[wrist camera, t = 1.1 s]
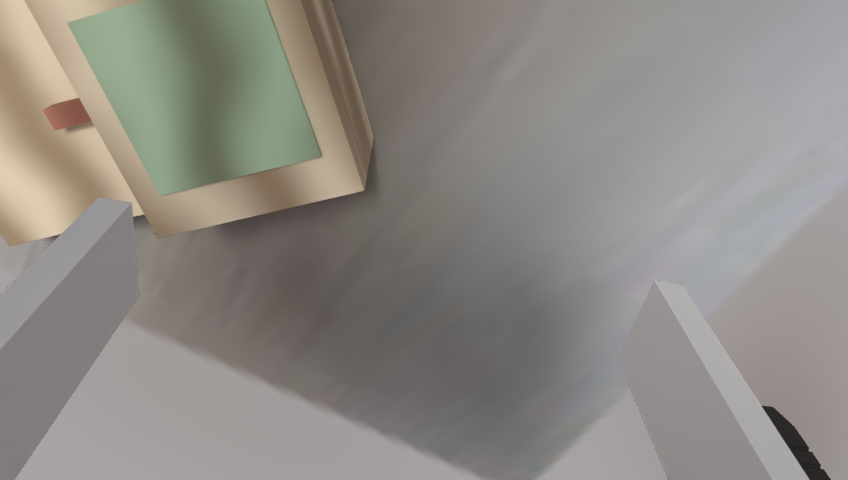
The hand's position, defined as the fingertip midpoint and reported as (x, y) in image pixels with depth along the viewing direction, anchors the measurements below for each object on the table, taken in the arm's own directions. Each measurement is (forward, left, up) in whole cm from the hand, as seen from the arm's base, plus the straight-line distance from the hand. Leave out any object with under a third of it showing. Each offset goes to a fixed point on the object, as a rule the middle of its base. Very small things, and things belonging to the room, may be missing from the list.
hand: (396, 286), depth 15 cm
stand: (-3, -16, -24) cm, 29 cm away
